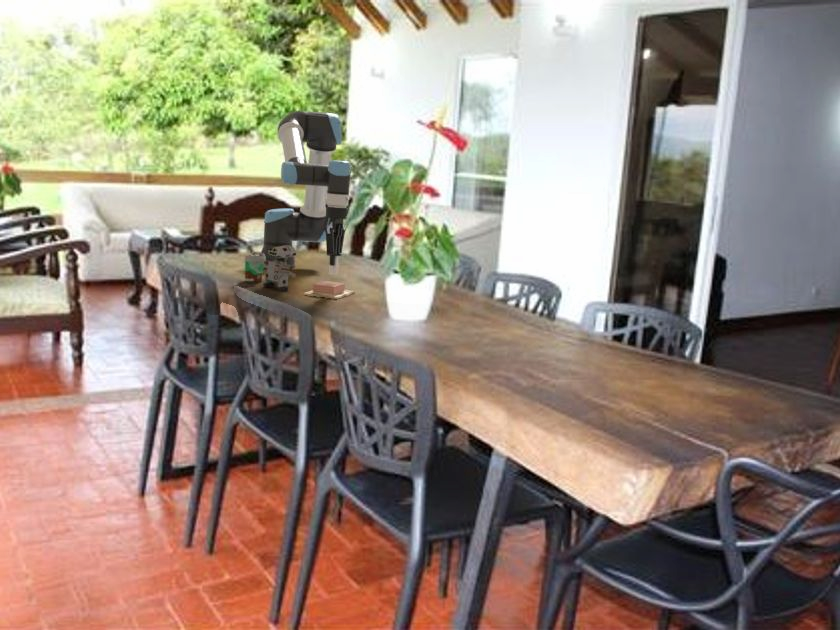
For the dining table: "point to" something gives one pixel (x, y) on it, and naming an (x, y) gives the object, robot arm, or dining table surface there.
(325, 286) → the tile
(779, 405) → the dining table surface
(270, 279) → the figurine
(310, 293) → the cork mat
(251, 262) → the food container
